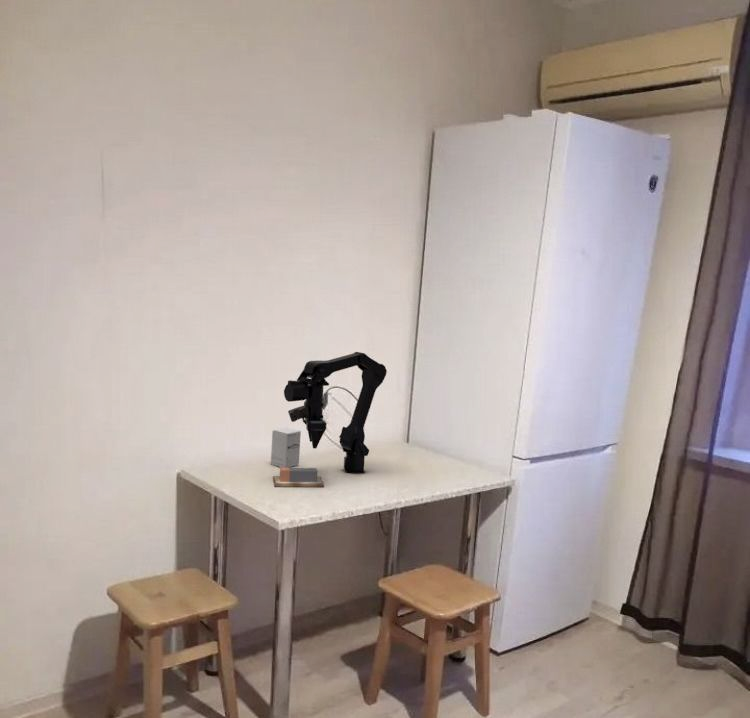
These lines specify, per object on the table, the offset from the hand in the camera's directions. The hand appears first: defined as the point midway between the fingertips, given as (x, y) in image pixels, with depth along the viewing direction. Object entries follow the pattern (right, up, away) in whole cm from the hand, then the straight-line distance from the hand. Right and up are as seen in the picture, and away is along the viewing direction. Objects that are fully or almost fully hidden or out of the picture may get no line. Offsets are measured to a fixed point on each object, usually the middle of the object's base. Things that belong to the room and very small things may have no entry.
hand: (312, 444), depth 240 cm
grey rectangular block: (-4, -11, -6) cm, 13 cm away
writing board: (-4, -12, -6) cm, 14 cm away
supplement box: (-11, -9, +15) cm, 21 cm away
